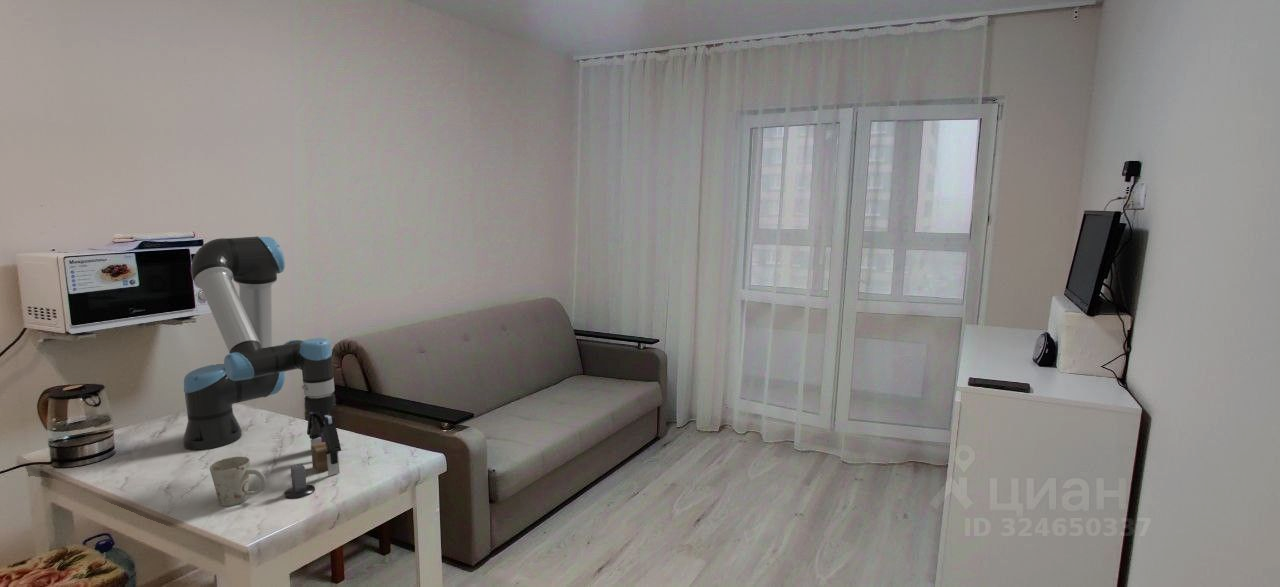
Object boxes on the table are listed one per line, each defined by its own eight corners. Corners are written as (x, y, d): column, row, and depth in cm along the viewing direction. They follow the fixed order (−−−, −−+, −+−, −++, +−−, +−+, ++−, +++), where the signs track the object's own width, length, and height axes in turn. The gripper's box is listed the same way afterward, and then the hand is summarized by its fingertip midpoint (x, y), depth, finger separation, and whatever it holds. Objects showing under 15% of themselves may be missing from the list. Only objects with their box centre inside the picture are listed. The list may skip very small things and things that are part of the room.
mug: (226, 493, 160) (222, 457, 159) (276, 491, 161) (273, 455, 160) (206, 509, 152) (202, 471, 150) (260, 507, 153) (256, 469, 151)
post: (280, 492, 161) (278, 466, 160) (309, 483, 166) (307, 458, 165) (289, 501, 156) (286, 475, 155) (318, 492, 161) (316, 466, 160)
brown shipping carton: (312, 467, 175) (310, 445, 174) (332, 461, 179) (330, 440, 178) (319, 473, 172) (317, 450, 171) (338, 467, 176) (336, 445, 174)
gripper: (290, 387, 178) (297, 458, 181) (320, 407, 161) (327, 485, 164) (318, 382, 183) (324, 450, 187) (350, 401, 166) (356, 476, 170)
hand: (325, 466), depth 175 cm, fingers open, 12 cm apart
